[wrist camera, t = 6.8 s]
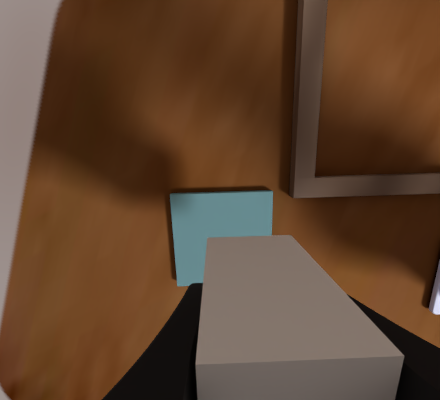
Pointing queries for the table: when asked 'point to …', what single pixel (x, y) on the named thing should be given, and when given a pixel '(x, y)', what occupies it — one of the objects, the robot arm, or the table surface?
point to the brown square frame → (309, 119)
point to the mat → (214, 224)
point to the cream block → (285, 329)
